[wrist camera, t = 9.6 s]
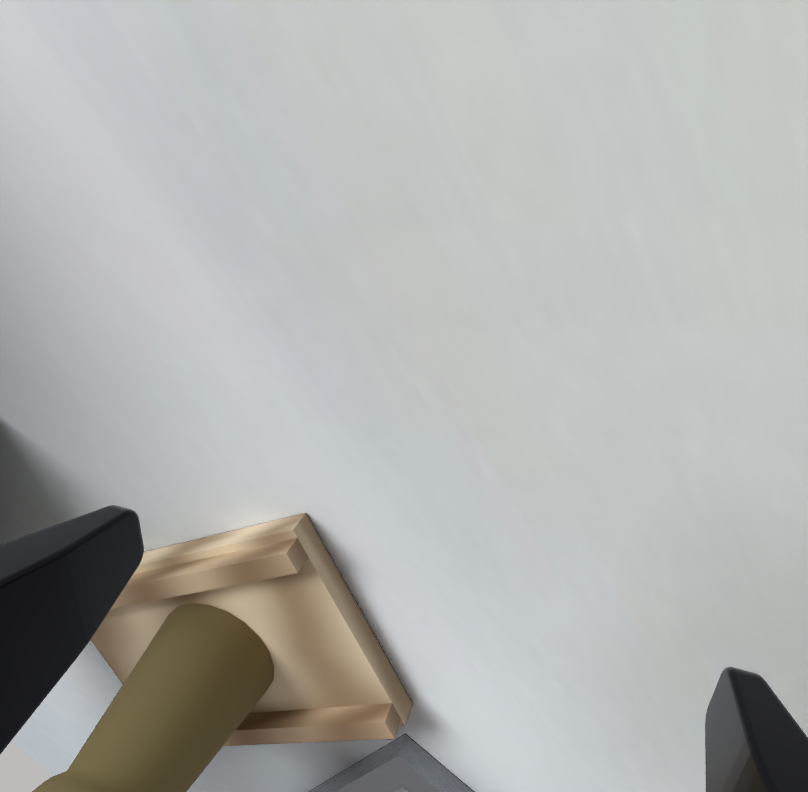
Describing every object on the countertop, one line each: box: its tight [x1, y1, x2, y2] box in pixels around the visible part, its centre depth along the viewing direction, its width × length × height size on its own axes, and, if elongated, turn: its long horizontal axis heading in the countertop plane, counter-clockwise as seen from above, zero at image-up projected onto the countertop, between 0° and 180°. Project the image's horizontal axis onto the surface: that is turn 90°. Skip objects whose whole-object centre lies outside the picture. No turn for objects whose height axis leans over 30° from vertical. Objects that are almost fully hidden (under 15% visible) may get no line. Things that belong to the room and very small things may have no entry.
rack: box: [91, 513, 413, 746], centre depth 31 cm, size 16×11×2 cm
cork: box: [32, 603, 274, 792], centre depth 26 cm, size 6×6×11 cm
